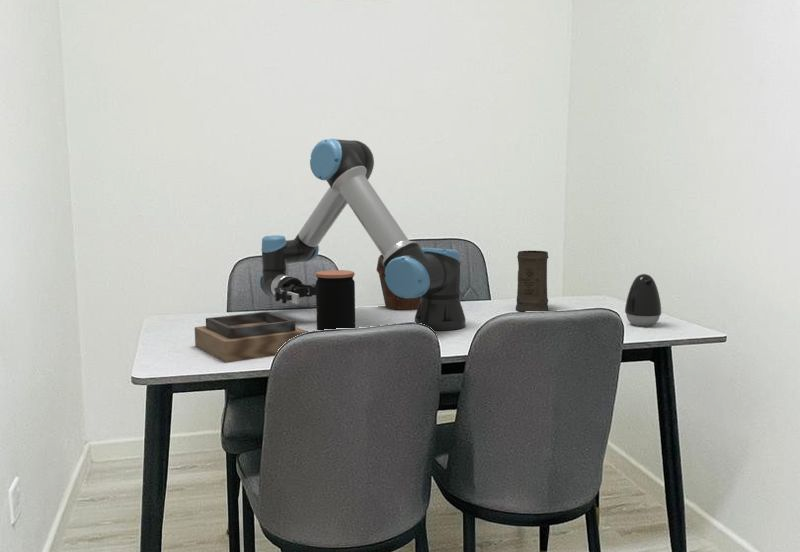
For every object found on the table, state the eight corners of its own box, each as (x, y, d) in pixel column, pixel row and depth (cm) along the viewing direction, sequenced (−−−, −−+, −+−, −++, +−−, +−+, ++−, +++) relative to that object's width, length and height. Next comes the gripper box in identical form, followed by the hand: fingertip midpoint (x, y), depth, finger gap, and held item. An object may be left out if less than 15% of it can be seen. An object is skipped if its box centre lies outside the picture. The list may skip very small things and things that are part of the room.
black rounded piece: (632, 328, 219) (634, 276, 217) (619, 322, 229) (621, 272, 227) (666, 328, 219) (668, 276, 217) (652, 321, 229) (654, 271, 227)
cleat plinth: (272, 335, 212) (271, 309, 211) (308, 350, 193) (307, 321, 193) (195, 345, 200) (194, 317, 199) (225, 362, 181) (224, 331, 180)
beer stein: (548, 313, 243) (549, 251, 242) (514, 312, 245) (515, 251, 244) (548, 309, 258) (550, 250, 257) (516, 308, 260) (518, 249, 259)
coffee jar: (334, 331, 217) (333, 269, 215) (363, 335, 211) (362, 271, 209) (308, 337, 209) (307, 273, 207) (338, 342, 203) (337, 275, 200)
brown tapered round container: (442, 309, 252) (441, 255, 250) (384, 313, 247) (383, 258, 245) (425, 302, 269) (424, 251, 267) (370, 305, 264) (369, 254, 262)
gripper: (323, 296, 241) (357, 305, 224) (250, 304, 228) (279, 314, 210) (323, 273, 240) (357, 280, 223) (249, 279, 227) (279, 287, 209)
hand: (319, 297), depth 216 cm, fingers open, 13 cm apart
